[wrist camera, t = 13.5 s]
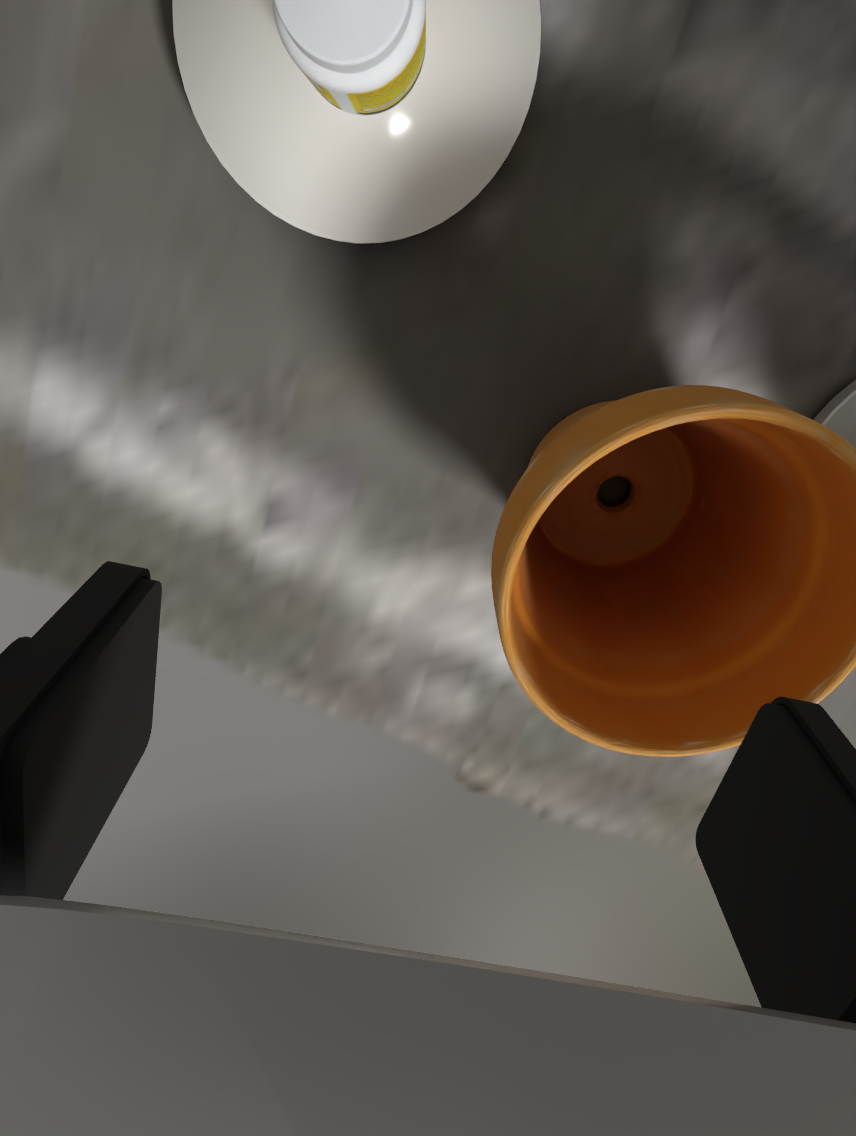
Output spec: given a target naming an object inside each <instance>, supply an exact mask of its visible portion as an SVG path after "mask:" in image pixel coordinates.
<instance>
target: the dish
mask: <svg viewBox="0 0 856 1136" xmlns="http://www.w3.org/2000/svg"><path fill="white" fill-rule="evenodd" d="M172 7H173V33H174V40H175V47H176V54H177V61H178V65H179V69H180V73H181V77H182V81H183V85H184V89H185V92H186V95H187V97H188V100H189V103H190V105H191V108H192V111H193V113H194V116H195V118H196V120H197V122H198V124H199V126H200V128H201V130H202V132H203V134H204V136H205V138H206V140H207V142H208V143H209V145H210V147H211V148H212V150H213V151H214V153H215V154H216V156H217V157H218V159H219V161H220V162H221V164H222V165H223V166H224V167H225V169H226V170H227V171H228V172H229V173H230V175H231V176H232V177H233V178H234V180H235V181H236V182H237V183H238V184H239V185H240V186H241V187H242V188H243V189H244V190H245V191H246V192H247V193H248V194H249V195H250V196H251V197H252V198H253V199H254V200H255V201H257V202H258V203H259V204H261V205H262V206H263V207H265V208H266V209H267V210H268V211H270V212H271V213H272V214H274V215H275V216H277V217H279V218H280V219H282V220H284V221H286V222H287V223H289V224H291V225H293V226H294V227H297V228H299V229H301V230H304V231H306V232H309V233H311V234H314V235H316V236H320V237H324V238H328V239H332V240H335V241H342V242H351V243H382V242H388V241H394V240H399V239H403V238H406V237H410V236H413V235H416V234H419V233H422V232H424V231H426V230H428V229H430V228H432V227H434V226H436V225H438V224H440V223H442V222H444V221H445V220H447V219H448V218H450V217H451V216H453V215H454V214H456V213H457V212H459V211H460V210H461V209H462V208H464V207H465V206H466V205H467V204H468V203H469V202H470V201H471V200H473V199H474V198H475V197H476V196H477V195H478V194H479V193H480V192H481V191H482V190H483V188H484V187H485V186H486V185H487V184H488V183H489V182H490V180H491V179H492V178H493V177H494V176H495V174H496V173H497V171H498V170H499V168H500V167H501V165H502V164H503V162H504V161H505V159H506V158H507V156H508V155H509V153H510V151H511V149H512V147H513V145H514V143H515V141H516V139H517V137H518V135H519V133H520V131H521V128H522V125H523V123H524V120H525V118H526V115H527V112H528V110H529V107H530V103H531V99H532V95H533V91H534V87H535V83H536V78H537V71H538V64H539V57H540V43H541V14H540V0H426V47H425V56H424V61H423V65H422V69H421V72H420V75H419V77H418V79H417V81H416V83H415V85H414V87H413V89H412V90H411V92H410V93H409V94H408V96H407V97H406V98H405V99H404V100H403V101H402V102H401V103H399V104H398V105H397V106H395V107H394V108H392V109H390V110H389V111H386V112H384V113H381V114H377V115H369V116H362V115H354V114H350V113H347V112H344V111H342V110H340V109H338V108H337V107H335V106H333V105H332V104H331V103H329V102H328V101H327V100H326V99H325V98H324V97H323V96H322V95H321V94H320V93H319V92H318V91H317V90H316V89H315V87H314V86H313V85H312V83H311V82H310V81H309V80H308V79H307V77H306V76H305V75H304V74H303V72H302V71H301V70H300V69H299V68H298V67H297V65H296V64H295V63H294V61H293V60H292V59H291V57H290V55H289V54H288V52H287V50H286V48H285V47H284V45H283V43H282V40H281V38H280V35H279V32H278V29H277V26H276V22H275V17H274V13H273V5H272V0H173V1H172Z"/></svg>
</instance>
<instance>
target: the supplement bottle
mask: <svg viewBox="0 0 856 1136" xmlns="http://www.w3.org/2000/svg"><path fill="white" fill-rule="evenodd" d="M272 5H273V13H274V17H275V22H276V26H277V29H278V32H279V35H280V38H281V40H282V43H283V45H284V47H285V48H286V50H287V52H288V54H289V55H290V57H291V59H292V60H293V61H294V63H295V64H296V65H297V67H298V68H299V69H300V70H301V71H302V72H303V74H304V75H305V76H306V77H307V79H308V80H309V81H310V82H311V83H312V85H313V86H314V87H315V89H316V90H317V91H318V92H319V93H320V94H321V95H322V96H323V97H324V98H325V99H326V100H327V101H328V102H329V103H331V104H332V105H333V106H335V107H337V108H338V109H340V110H342V111H344V112H347V113H350V114H354V115H362V116H369V115H377V114H381V113H384V112H386V111H389V110H390V109H392V108H394V107H395V106H397V105H398V104H399V103H401V102H402V101H403V100H404V99H405V98H406V97H407V96H408V94H409V93H410V92H411V90H412V89H413V87H414V85H415V83H416V81H417V79H418V77H419V75H420V72H421V69H422V65H423V61H424V56H425V47H426V0H272Z"/></svg>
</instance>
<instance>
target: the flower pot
mask: <svg viewBox="0 0 856 1136" xmlns="http://www.w3.org/2000/svg"><path fill="white" fill-rule="evenodd" d="M616 476H618V477H624V478H626V479H628V481H629V482H630V484H631V493H630V496H629V497H628V499H627V500H626V501H625V502H624V503H622V504H621V505H618V506H615V507H607V506H605V505H603V504H602V503H600V501H599V499H598V496H597V494H598V490H599V488H600V486H601V485H602V484H603V483H604V482H605V481H606V480H608V479H610V478H612V477H616ZM491 577H492V591H493V599H494V606H495V612H496V617H497V623H498V628H499V634H500V638H501V643H502V646H503V650H504V653H505V656H506V659H507V661H508V664H509V666H510V668H511V670H512V672H513V675H514V676H515V678H516V680H517V681H518V683H519V685H520V686H521V688H522V689H523V691H524V692H525V693H526V695H527V696H528V697H529V698H530V699H531V701H532V702H533V703H534V704H535V705H536V706H537V707H538V708H539V710H540V711H541V712H543V713H544V714H545V715H546V716H547V717H548V718H550V719H551V720H552V721H553V722H555V723H556V724H558V725H559V726H561V727H562V728H564V729H565V730H567V731H569V732H570V733H572V734H574V735H576V736H578V737H580V738H582V739H584V740H586V741H588V742H591V743H593V744H596V745H598V746H601V747H605V748H608V749H611V750H614V751H619V752H623V753H629V754H635V755H643V756H665V757H677V756H688V755H698V754H703V753H709V752H714V751H719V750H723V749H727V748H731V747H734V746H737V745H740V744H741V743H742V741H743V739H744V737H745V735H746V733H747V731H748V730H749V728H750V726H751V724H752V722H753V720H754V718H755V716H756V714H757V712H758V710H759V709H760V708H761V706H763V705H764V704H766V703H771V702H772V701H773V700H774V699H776V698H777V697H781V696H782V697H787V698H792V699H797V700H802V701H807V702H812V703H816V704H818V703H819V702H820V701H821V700H822V699H824V698H825V697H826V696H827V695H828V694H829V693H831V692H832V691H833V690H834V689H835V688H836V687H837V686H838V685H839V684H840V683H841V682H842V681H843V680H844V679H845V678H846V676H847V675H848V674H849V673H850V672H851V671H852V670H853V669H854V667H855V666H856V449H855V448H854V447H853V446H852V445H851V444H850V443H849V442H848V441H846V440H845V439H844V438H842V437H841V436H840V435H838V434H837V433H835V432H833V431H832V430H830V429H829V428H827V427H826V426H824V425H822V424H820V423H818V422H816V421H814V420H812V419H810V418H808V417H806V416H804V415H801V414H799V413H797V412H795V411H793V410H791V409H789V408H786V407H784V406H782V405H779V404H777V403H774V402H772V401H770V400H767V399H764V398H761V397H758V396H755V395H752V394H749V393H745V392H741V391H738V390H733V389H728V388H722V387H714V386H703V385H683V386H672V387H664V388H658V389H653V390H648V391H644V392H640V393H637V394H633V395H630V396H627V397H624V398H622V399H619V400H616V401H606V402H600V403H596V404H593V405H590V406H587V407H585V408H583V409H580V410H578V411H576V412H574V413H572V414H571V415H569V416H568V417H566V418H565V419H563V420H562V421H561V422H559V423H558V424H557V425H556V426H555V427H553V428H552V429H551V430H550V431H549V432H548V433H547V435H546V436H545V437H544V438H543V439H542V441H541V442H540V443H539V445H538V446H537V448H536V450H535V451H534V453H533V455H532V457H531V460H530V462H529V465H528V468H527V470H526V471H525V472H524V474H523V475H522V477H521V478H520V480H519V481H518V483H517V484H516V486H515V488H514V489H513V491H512V493H511V495H510V497H509V499H508V501H507V503H506V505H505V508H504V510H503V513H502V515H501V519H500V522H499V525H498V528H497V532H496V536H495V540H494V546H493V552H492V567H491Z"/></svg>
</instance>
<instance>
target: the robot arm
mask: <svg viewBox="0 0 856 1136" xmlns="http://www.w3.org/2000/svg"><path fill="white" fill-rule="evenodd" d="M814 421H816V422H818V423H820V424H822V425H824V426H826V427H827V428H829V429H830V430H832V431H833V432H835V433H837V434H838V435H840V436H841V437H842V438H844V439H845V440H846V441H848V442H849V443H850V444H851V445H852V446H853V447H854V448H855V449H856V380H854V381H853V382H852V383H851V384H849V385H848V386H847V387H846V388H844V389H843V390H842V391H841V392H840V393H838V394H837V395H836V396H835V397H833V398H832V400H831V401H830V402H829V403H828V404H827V405H826V406H825V407H824V408H823V409H822V410H821V411H820V413H819V414H818V415H817V416H816V417H815V418H814ZM161 594H162V586H161V583H160V581H155V580H150V572H149V570H148V569H145V568H140V567H135V566H130V565H125V564H121V563H116V562H111V561H107V562H106V563H104V564H103V565H102V566H101V567H100V568H99V569H98V570H97V571H96V572H95V573H94V574H93V575H92V576H91V577H90V578H89V579H88V580H87V581H86V582H85V583H84V584H83V585H82V586H81V588H80V589H79V590H78V591H77V592H76V593H75V594H74V595H73V596H72V597H71V598H70V599H69V600H68V601H67V602H66V603H65V604H64V605H63V606H62V607H61V608H60V609H59V610H58V611H57V612H56V613H55V614H54V615H53V617H51V618H50V619H49V620H48V621H47V622H46V623H45V625H44V626H43V627H42V628H41V629H40V630H39V631H38V632H37V633H36V634H35V635H34V636H33V637H32V638H30V637H21V638H18V639H17V640H15V641H14V642H13V643H11V644H10V645H9V646H8V647H7V648H6V649H5V650H4V651H3V652H2V653H1V654H0V1136H856V749H855V748H854V747H853V745H852V744H851V743H850V742H849V740H848V739H847V738H846V737H845V735H844V734H843V733H842V732H841V730H840V729H839V728H838V726H837V725H836V724H835V723H834V721H833V720H832V719H831V718H830V716H829V715H828V714H827V713H826V711H825V710H824V709H823V708H822V707H821V706H820V705H819V704H816V703H812V702H807V701H802V700H797V699H792V698H787V697H782V696H781V697H777V698H776V699H774V700H773V701H772V702H771V703H766V704H764V705H763V706H761V708H760V709H759V710H758V712H757V714H756V716H755V718H754V720H753V722H752V724H751V726H750V728H749V730H748V731H747V733H746V735H745V737H744V739H743V741H742V743H741V745H740V747H739V749H738V751H737V753H736V754H735V756H734V758H733V760H732V762H731V764H730V766H729V768H728V770H727V772H726V774H725V776H724V778H723V779H722V781H721V783H720V785H719V787H718V789H717V791H716V793H715V795H714V797H713V799H712V801H711V802H710V804H709V806H708V808H707V810H706V812H705V814H704V816H703V818H702V820H701V822H700V824H699V826H698V828H697V832H696V848H697V851H698V854H699V856H700V859H701V861H702V863H703V866H704V868H705V871H706V873H707V876H708V878H709V880H710V883H711V885H712V888H713V890H714V893H715V895H716V897H717V900H718V902H719V905H720V907H721V909H722V912H723V914H724V917H725V919H726V922H727V924H728V926H729V929H730V931H731V934H732V936H733V939H734V941H735V943H736V946H737V948H738V951H739V953H740V956H741V958H742V960H743V963H744V965H745V968H746V970H747V972H748V975H749V977H750V980H751V982H752V985H753V987H754V990H755V992H756V994H757V997H758V999H759V1002H760V1004H761V1007H762V1008H760V1007H755V1006H748V1005H743V1004H736V1003H730V1002H725V1001H719V1000H713V999H707V998H701V997H694V996H689V995H683V994H677V993H671V992H665V991H659V990H653V989H646V988H640V987H634V986H628V985H621V984H616V983H609V982H603V981H597V980H591V979H585V978H579V977H573V976H567V975H560V974H554V973H548V972H542V971H536V970H529V969H523V968H517V967H511V966H505V965H498V964H492V963H486V962H479V961H473V960H466V959H461V958H454V957H449V956H442V955H436V954H430V953H423V952H417V951H410V950H403V949H397V948H391V947H384V946H378V945H372V944H365V943H359V942H352V941H346V940H340V939H333V938H327V937H320V936H314V935H308V934H301V933H294V932H288V931H282V930H275V929H269V928H263V927H255V926H250V925H243V924H237V923H230V922H223V921H216V920H210V919H202V918H195V917H188V916H181V915H175V914H167V913H161V912H154V911H147V910H139V909H132V908H124V907H117V906H108V905H101V904H92V903H83V902H74V901H65V900H63V898H64V896H65V895H66V893H67V891H68V889H69V887H70V885H71V883H72V882H73V880H74V878H75V876H76V875H77V873H78V871H79V869H80V867H81V865H82V864H83V862H84V860H85V858H86V857H87V855H88V853H89V851H90V849H91V848H92V846H93V844H94V842H95V840H96V838H97V837H98V835H99V833H100V831H101V829H102V828H103V825H104V824H105V822H106V820H107V818H108V817H109V815H110V813H111V811H112V809H113V808H114V806H115V804H116V802H117V800H118V799H119V797H120V795H121V793H122V791H123V789H124V788H125V786H126V784H127V782H128V781H129V779H130V777H131V775H132V773H133V771H134V770H135V768H136V766H137V764H138V762H139V761H140V758H141V757H142V755H143V753H144V751H145V749H146V747H147V744H148V741H149V738H150V734H151V729H152V717H153V704H154V690H155V677H156V675H155V674H156V663H157V649H158V635H159V621H160V608H161Z"/></svg>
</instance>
